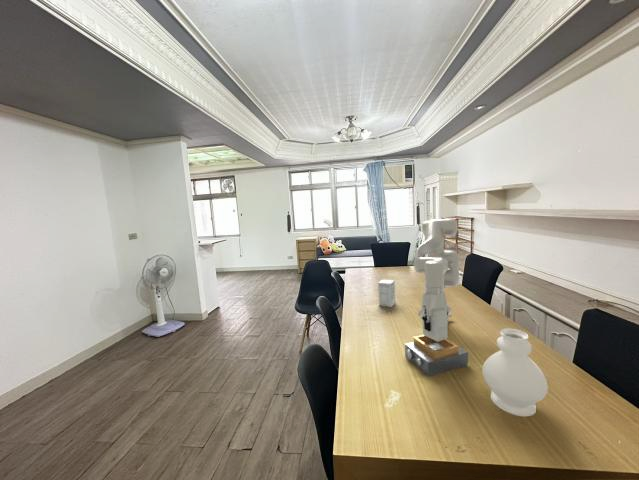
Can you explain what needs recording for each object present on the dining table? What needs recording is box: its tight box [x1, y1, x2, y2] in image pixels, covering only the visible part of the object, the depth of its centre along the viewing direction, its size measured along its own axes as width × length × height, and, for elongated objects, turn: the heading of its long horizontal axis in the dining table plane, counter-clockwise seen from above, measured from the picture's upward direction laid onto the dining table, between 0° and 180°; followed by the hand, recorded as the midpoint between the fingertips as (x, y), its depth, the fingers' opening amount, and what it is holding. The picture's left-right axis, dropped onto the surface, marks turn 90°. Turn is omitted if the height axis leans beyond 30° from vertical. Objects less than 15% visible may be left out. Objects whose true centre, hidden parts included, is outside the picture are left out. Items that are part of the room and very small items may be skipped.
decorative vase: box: [481, 328, 548, 417], centre depth 90 cm, size 18×18×25 cm
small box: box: [422, 309, 449, 342], centre depth 116 cm, size 8×6×13 cm
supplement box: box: [377, 279, 397, 308], centre depth 187 cm, size 10×9×17 cm
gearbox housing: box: [404, 334, 469, 377], centre depth 117 cm, size 21×16×9 cm
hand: (434, 328), depth 116 cm, fingers closed on small box, 7 cm apart
